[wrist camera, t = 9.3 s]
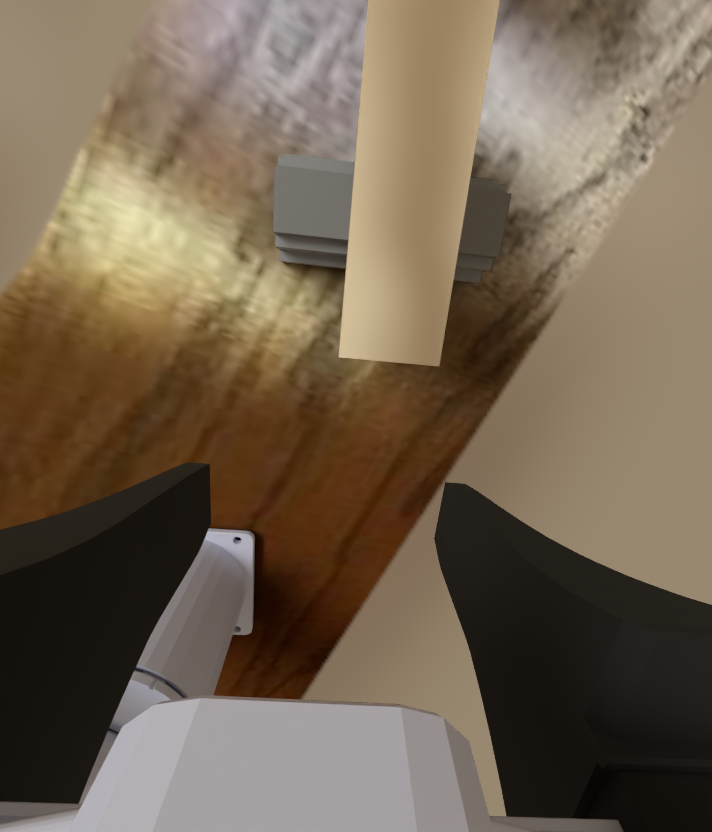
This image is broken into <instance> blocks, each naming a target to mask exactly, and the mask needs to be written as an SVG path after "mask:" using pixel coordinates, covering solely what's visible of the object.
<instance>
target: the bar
mask: <svg viewBox="0 0 712 832" xmlns="http://www.w3.org/2000/svg"><path fill="white" fill-rule="evenodd" d="M499 2H500V0H369V2H368V13H367V25H366V36H365V47H364V59H363V70H362V82H361V94H360V106H359V118H358V130H357V142H356V154H355V166H354V178H353V189H352V201H351V213H350V225H349V237H348V249H347V261H346V273H345V285H344V297H343V308H342V320H341V332H340V346H339V357H342V358H353V359H364V360H375V361H386V362H396V363H407V364H418V365H429V366H439V365H440V359H441V353H442V347H443V341H444V335H445V328H446V322H447V316H448V310H449V304H450V298H451V292H452V286H453V280H454V274H455V268H456V262H457V256H458V250H459V244H460V238H461V232H462V226H463V220H464V213H465V207H466V201H467V195H468V189H469V183H470V177H471V171H472V165H473V159H474V153H475V147H476V141H477V135H478V129H479V123H480V117H481V111H482V104H483V98H484V92H485V86H486V80H487V74H488V68H489V62H490V56H491V50H492V44H493V38H494V32H495V26H496V20H497V14H498V8H499Z"/></svg>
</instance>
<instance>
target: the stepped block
mask: <svg viewBox="0 0 712 832" xmlns="http://www.w3.org/2000/svg"><path fill="white" fill-rule="evenodd" d="M354 166H355V162H347V161H339V160H331V159H324V158H316V157H308V156H300V155H292V154H284V153H283V157H278V165H275V181H274V215H273V232H274V233H275V234H276V242H275V246H276V247H277V248H278V249H280V252H279V261H281V262H285V263H294V264H303V265H313V266H322V267H331V268H341V269H346V261H347V249H348V237H349V225H350V213H351V201H352V189H353V178H354ZM506 188H507V185H501V184H498V180H491V179H483V178H475V177H470V183H469V189H468V195H467V201H466V207H465V213H464V220H463V226H462V232H461V238H460V244H459V250H458V256H457V262H456V268H455V274H454V280H453V281H462V282H471V283H478V282H480V278H481V273H482V272H483V271H488V270H491V267H492V261H493V258H497V257H499V255H500V250H501V245H502V239H503V234H504V229H505V224H506V219H507V214H508V209H509V204H510V199H511V194H508V193H506Z"/></svg>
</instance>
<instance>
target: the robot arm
mask: <svg viewBox="0 0 712 832" xmlns="http://www.w3.org/2000/svg"><path fill="white" fill-rule="evenodd" d="M210 524H211V504H210V465H209V464H202V463H186V464H183V465H180V466H177V467H175V468H173V469H170V470H168V471H166V472H163V473H161V474H159V475H157V476H154V477H152V478H150V479H148V480H146V481H143V482H141V483H139V484H137V485H134V486H132V487H130V488H127V489H125V490H122V491H120V492H117V493H115V494H113V495H110V496H108V497H105V498H103V499H100V500H98V501H95V502H92V503H90V504H87V505H84V506H81V507H79V508H76V509H73V510H70V511H66V512H63V513H60V514H57V515H54V516H51V517H47V518H44V519H40V520H37V521H33V522H29V523H25V524H21V525H17V526H14V527H10V528H6V529H2V530H0V832H712V605H709V604H706V603H703V602H700V601H697V600H693V599H690V598H687V597H683V596H681V595H678V594H675V593H672V592H669V591H667V590H664V589H661V588H658V587H655V586H653V585H650V584H647V583H645V582H642V581H639V580H636V579H634V578H632V577H629V576H626V575H624V574H622V573H620V572H617V571H615V570H612V569H610V568H608V567H606V566H604V565H601V564H599V563H596V562H594V561H592V560H590V559H588V558H586V557H584V556H582V555H580V554H578V553H576V552H574V551H572V550H570V549H568V548H566V547H564V546H563V545H561V544H559V543H557V542H555V541H553V540H551V539H549V538H548V537H546V536H544V535H543V534H541V533H540V532H538V531H536V530H535V529H533V528H531V527H530V526H528V525H526V524H525V523H523V522H522V521H520V520H519V519H517V518H516V517H514V516H513V515H511V514H510V513H508V512H507V511H505V510H504V509H502V508H501V507H499V506H498V505H496V504H495V503H493V502H492V501H491V500H489V499H488V498H486V497H485V496H483V495H482V494H481V493H479V492H478V491H476V490H474V489H473V488H471V487H469V486H468V485H466V484H459V483H446V482H445V486H444V492H443V497H442V502H441V507H440V512H439V518H438V523H437V528H436V533H435V538H434V539H435V544H436V549H437V554H438V559H439V563H440V567H441V570H442V573H443V576H444V579H445V582H446V584H447V587H448V590H449V593H450V596H451V598H452V601H453V604H454V607H455V609H456V612H457V615H458V618H459V620H460V623H461V626H462V629H463V631H464V634H465V637H466V640H467V643H468V646H469V650H470V653H471V657H472V661H473V665H474V669H475V672H476V676H477V680H478V684H479V688H480V692H481V697H482V701H483V705H484V710H485V714H486V718H487V723H488V727H489V731H490V736H491V741H492V745H493V750H494V755H495V760H496V764H497V769H498V774H499V779H500V783H501V789H502V794H503V799H504V805H505V810H506V815H507V817H502V816H489V814H488V810H487V806H486V803H485V799H484V795H483V792H482V788H481V784H480V781H479V777H478V773H477V769H476V766H475V762H474V759H473V755H472V751H471V748H470V744H469V741H468V740H467V739H466V738H465V737H464V736H463V735H462V734H461V733H459V732H458V731H457V730H456V729H455V728H454V727H453V726H452V725H451V724H450V723H449V722H448V721H446V720H445V719H444V718H443V717H441V716H440V715H437V714H436V713H432V712H428V711H424V710H420V709H416V708H412V707H408V706H403V705H400V704H383V703H382V704H381V703H362V702H338V701H318V700H296V699H274V698H252V697H230V696H213V694H214V691H215V688H216V685H217V682H218V679H219V676H220V673H221V670H222V667H223V664H224V660H225V657H226V654H227V651H228V648H229V645H230V642H231V639H232V636H233V635H248V634H250V633H251V632H252V628H253V608H254V560H255V536H254V534H253V533H252V532H250V531H242V530H226V529H210V528H209V527H210ZM235 537H239V538H241V540H236V539H235ZM236 626H237V627H236ZM238 627H239V628H238Z"/></svg>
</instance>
